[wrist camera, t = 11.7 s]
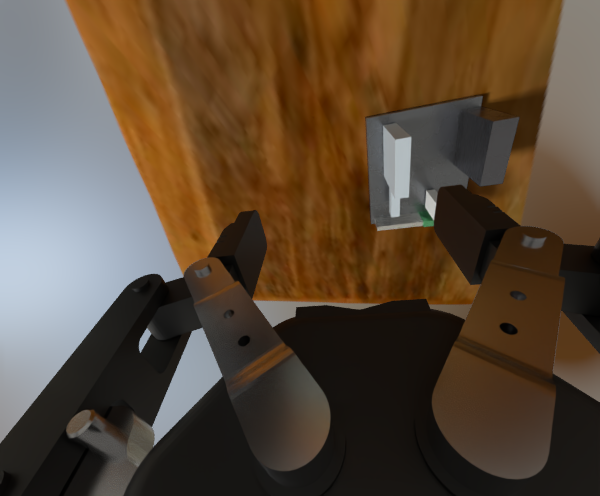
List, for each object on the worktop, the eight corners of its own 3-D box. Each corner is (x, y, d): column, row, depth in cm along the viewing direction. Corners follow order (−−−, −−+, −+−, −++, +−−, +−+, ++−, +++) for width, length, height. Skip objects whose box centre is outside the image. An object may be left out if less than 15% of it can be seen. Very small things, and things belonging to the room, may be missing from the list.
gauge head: (384, 207, 35) (394, 235, 30) (383, 125, 29) (395, 139, 24) (395, 206, 35) (407, 233, 29) (395, 122, 29) (411, 136, 23)
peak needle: (424, 211, 35) (442, 239, 29) (426, 186, 33) (446, 211, 27) (432, 210, 35) (452, 238, 29) (435, 184, 33) (456, 209, 27)
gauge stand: (370, 220, 38) (378, 252, 32) (365, 117, 30) (374, 131, 24) (459, 209, 36) (487, 242, 29) (478, 94, 28) (522, 103, 21)
